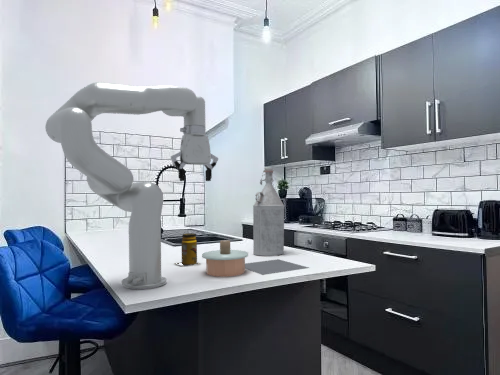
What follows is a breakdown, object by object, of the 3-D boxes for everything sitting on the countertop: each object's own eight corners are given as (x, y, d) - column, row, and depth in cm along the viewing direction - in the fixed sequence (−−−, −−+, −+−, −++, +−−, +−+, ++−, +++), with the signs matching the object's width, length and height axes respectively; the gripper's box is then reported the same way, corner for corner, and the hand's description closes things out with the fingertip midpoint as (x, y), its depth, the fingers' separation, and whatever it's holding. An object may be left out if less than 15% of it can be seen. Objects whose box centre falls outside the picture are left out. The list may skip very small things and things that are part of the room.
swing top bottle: (246, 255, 156) (244, 166, 157) (267, 250, 170) (266, 168, 171) (270, 258, 149) (268, 164, 150) (290, 252, 163) (288, 167, 164)
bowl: (238, 278, 115) (238, 259, 115) (201, 276, 118) (201, 258, 118) (248, 269, 127) (248, 253, 127) (214, 268, 130) (213, 252, 130)
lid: (242, 260, 113) (241, 244, 113) (195, 259, 117) (194, 243, 117) (252, 252, 129) (252, 238, 129) (211, 251, 132) (210, 237, 132)
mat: (262, 275, 117) (262, 274, 117) (235, 265, 135) (235, 264, 135) (309, 268, 127) (309, 267, 127) (278, 260, 145) (278, 259, 145)
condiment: (200, 264, 139) (200, 233, 139) (180, 267, 134) (180, 235, 135) (193, 261, 145) (192, 232, 145) (173, 264, 140) (173, 234, 141)
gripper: (174, 128, 116) (174, 180, 116) (221, 132, 125) (222, 180, 125) (167, 132, 123) (168, 181, 122) (213, 135, 131) (213, 181, 131)
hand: (195, 180), depth 124 cm, fingers open, 9 cm apart
